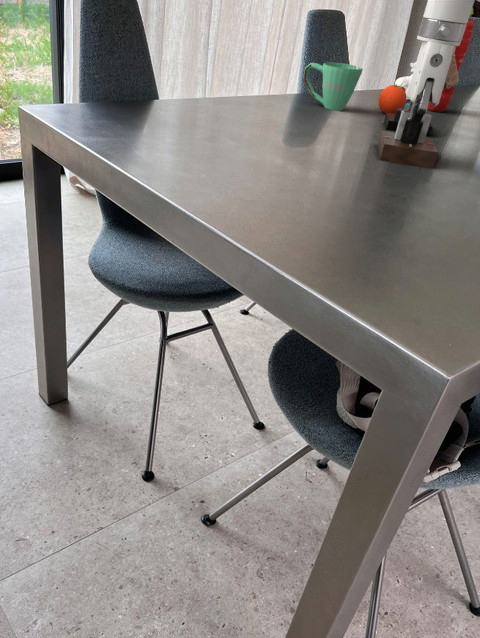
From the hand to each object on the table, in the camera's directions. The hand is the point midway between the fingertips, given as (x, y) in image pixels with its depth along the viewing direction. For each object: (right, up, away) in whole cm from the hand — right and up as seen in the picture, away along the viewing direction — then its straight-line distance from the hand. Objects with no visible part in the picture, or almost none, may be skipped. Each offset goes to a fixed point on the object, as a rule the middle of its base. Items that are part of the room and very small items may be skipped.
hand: (407, 140), depth 111 cm
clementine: (+9, +23, +38) cm, 46 cm away
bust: (+24, +38, +62) cm, 77 cm away
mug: (-8, +24, +37) cm, 45 cm away
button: (+9, +16, +22) cm, 29 cm away
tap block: (0, -2, +2) cm, 3 cm away
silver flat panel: (0, 0, 0) cm, 1 cm away
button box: (+9, +13, +24) cm, 29 cm away
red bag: (+25, +28, +49) cm, 62 cm away
